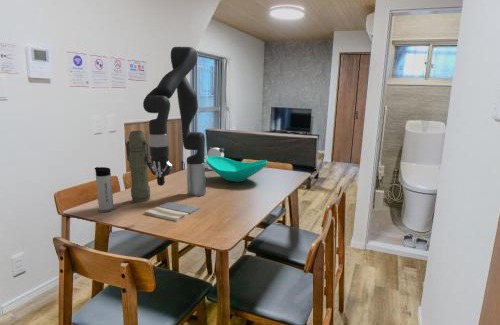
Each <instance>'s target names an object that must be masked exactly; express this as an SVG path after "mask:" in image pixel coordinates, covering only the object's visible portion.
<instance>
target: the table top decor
mask: <svg viewBox="0 0 500 325" xmlns="http://www.w3.org/2000/svg"><path fill="white" fill-rule="evenodd" d="M205 162H206V164H207V165H208V167H211V168H212V169H213V170H212V171H214V172H215V173H216V174H218V175H219V176H220V177H221V178H223V179H224V180H226V181H229V182H234V183H235V182H238V183H239V182H240V183H241V182H244V181H246V180H247V179H249V178H250V177H252V176H254V175H255V174H257V173H258V172H260V171H261V170H263V169H264V168H265V167H266V166H267V164H268V160H267V159H262V160H261V159H260V160H256V161H253V162H247V161H246V162H245V161H237V160H234V159H231V158H228V157H225V156H224V157H219V156H210V157H208V156H207V157H206V158H205Z"/></svg>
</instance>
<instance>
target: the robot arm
mask: <svg viewBox="0 0 500 325" xmlns="http://www.w3.org/2000/svg"><path fill="white" fill-rule="evenodd" d="M197 61H198V53H197V50H196V48H194V47H191V46H174V47H172V48H171V50H170V62H171V67H172V70H170V71H169V72H168V73H166V74H164V76H163V77H162V78H161V79H160V81H159V83H158V85H157V86H156V87H155V88H153V89H152V90H151V91H150V92H149V93H148V94H146V96H145V98H144V99H143V102H142V104H143V105H142V107H143V109H144V111H146V112H147V113H149V114H157V115H156V118H153V119H150V120H149V122H148V130H149V131H148V132H149V138H148V139H149V140H148V143H149V149H150V162H149V163H147V166H148V169H149V171H150V172H151V173H152V175H153V176H155V177H156V183H157V186H160V187H162V186H164V185H165V180H166V179H165V177H166V176H168V175H169V174H170V172H171V171H172V169H173V168H174V164H172V163H170V161H169V155H170V154H169V153H170V152H169V138H168V137H169V136H168V124H167V123H168V118H169V114H170V110H171V101H170V99H171V98H172V97H173V95H174V94H175V92H176V94H177V102H178V109H179V114H180V123H181V137H182V145H183V148H184V149H185V150H190V151H196V153H195V154H193V155H189V156H187V158H186V177H187V178H186V180H187V181H186V182H187V183H186V185H187V195H188V196H190V197H202V196H205V194H206V193H207V189H206V188H207V185H206V184H207V183H206V177H207V176H206V173H205V172H206V171H205V170H206V169H205V151H206V150H205V147H206V137H205V134H204V133H203V132H197V131H191V130H190V128H191V124H192V121H193V119H194V118H195V115H196V114H197V112H198V108H199V103H198V96H197V93H196V90H195V89H194V87H193V86H192V85H191V84H190V82H189V81H188V79H187V75H188V74H189V73H190V72H191V71H192V70H193V68H195V67H196V65H197Z"/></svg>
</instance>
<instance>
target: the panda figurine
mask: <svg viewBox="0 0 500 325" xmlns="http://www.w3.org/2000/svg"><path fill="white" fill-rule="evenodd" d="M207 151H208V152H207V157H210V156H219V157H224V158H225V153H224V151H225V148H224V147H221V148H219V147H213V146H210V147H209V146H208V147H207ZM207 170H211V171H214V170H213V169H212V168H211V167H210V166H208V167H207Z"/></svg>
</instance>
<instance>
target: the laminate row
mask: <svg viewBox="0 0 500 325" xmlns="http://www.w3.org/2000/svg"><path fill="white" fill-rule="evenodd" d="M157 207H160V208H165V209H170V210H175V211H180V212H185V213H189V215H191V214H193V213H195V212H197V211H199V210H200V209H201V207H200V206H194V205H187V204H184V203H183V204H182V203H178V202H172V201H167V202H164V203H163V204H160V205H158V206H157Z"/></svg>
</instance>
